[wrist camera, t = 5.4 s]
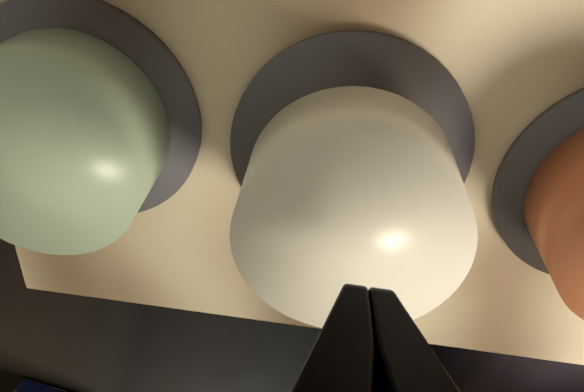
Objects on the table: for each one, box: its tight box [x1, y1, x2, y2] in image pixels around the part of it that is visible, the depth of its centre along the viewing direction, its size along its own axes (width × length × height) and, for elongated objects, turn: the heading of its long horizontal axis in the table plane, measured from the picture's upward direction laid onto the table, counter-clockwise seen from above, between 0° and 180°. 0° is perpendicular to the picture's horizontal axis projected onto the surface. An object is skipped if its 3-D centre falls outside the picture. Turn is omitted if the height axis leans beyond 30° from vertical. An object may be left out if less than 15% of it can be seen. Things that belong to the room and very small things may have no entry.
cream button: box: [230, 86, 478, 328], centre depth 11 cm, size 5×5×2 cm
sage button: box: [0, 27, 171, 255], centre depth 12 cm, size 5×5×2 cm
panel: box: [0, 0, 584, 365], centre depth 14 cm, size 20×14×2 cm
